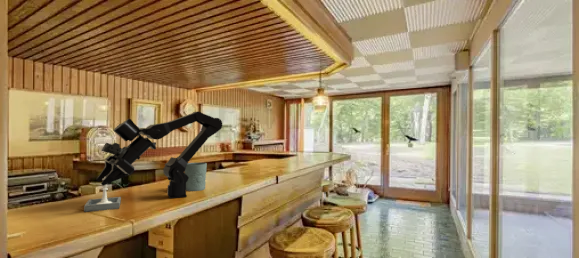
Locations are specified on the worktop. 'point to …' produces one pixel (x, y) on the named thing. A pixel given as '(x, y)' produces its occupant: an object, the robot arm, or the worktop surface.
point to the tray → (93, 205)
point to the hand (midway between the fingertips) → (99, 182)
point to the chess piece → (104, 195)
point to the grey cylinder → (196, 176)
